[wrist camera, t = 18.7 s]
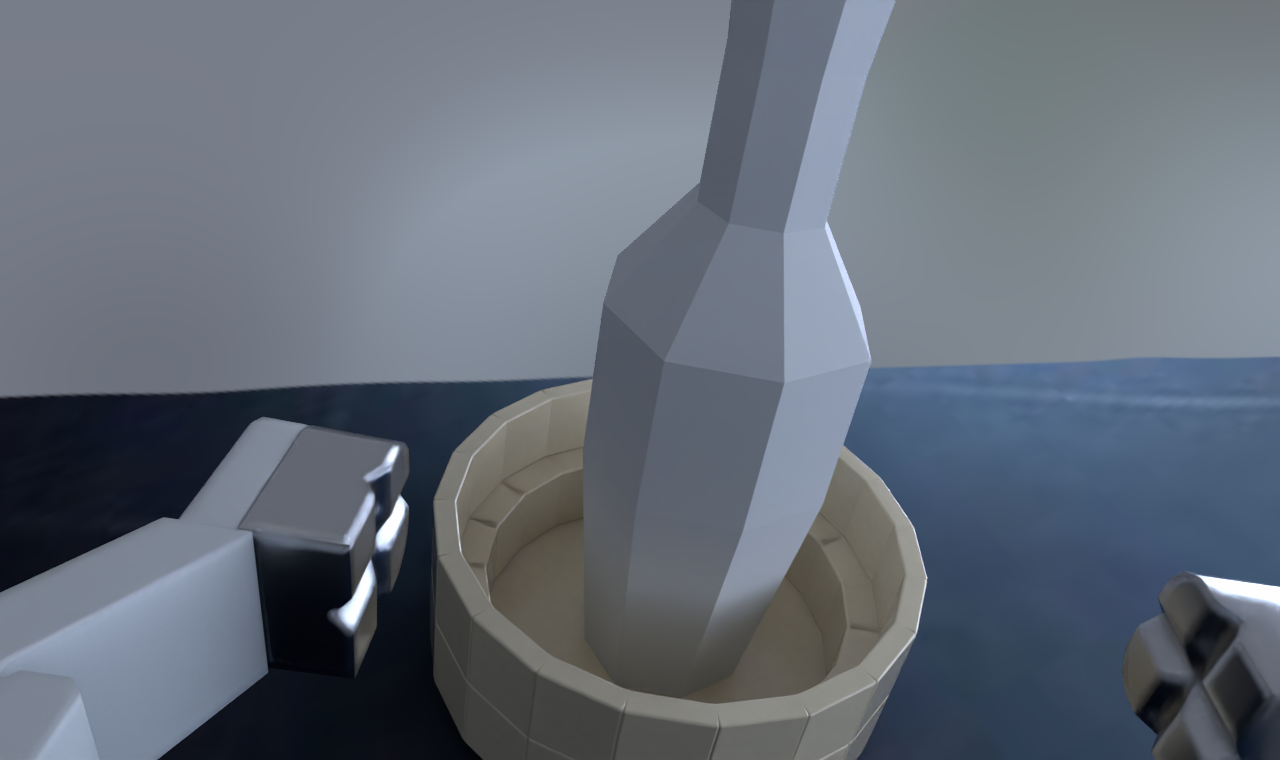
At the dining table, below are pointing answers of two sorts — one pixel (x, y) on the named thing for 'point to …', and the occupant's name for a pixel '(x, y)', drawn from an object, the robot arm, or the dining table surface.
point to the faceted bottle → (728, 360)
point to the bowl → (554, 614)
